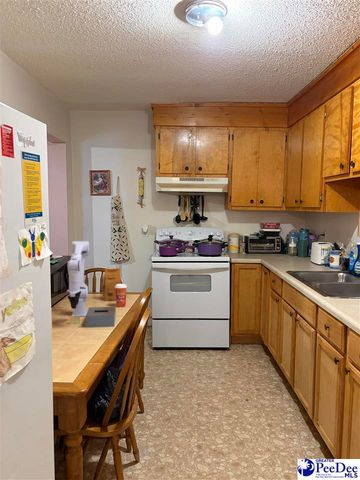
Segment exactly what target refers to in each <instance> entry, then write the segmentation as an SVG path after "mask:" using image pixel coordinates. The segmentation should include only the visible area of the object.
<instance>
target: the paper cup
mask: <svg viewBox="0 0 360 480" xmlns="http://www.w3.org/2000/svg"><path fill="white" fill-rule="evenodd" d="M115 288H116V307H117V308H125V307H126V304H127V288H128V286H127V284H125V283H121V284H117V285H116V286H115Z"/></svg>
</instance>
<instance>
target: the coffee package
mask: <svg viewBox="0 0 360 480" xmlns="http://www.w3.org/2000/svg"><path fill="white" fill-rule="evenodd" d="M121 279H122V278H121V267H115V268H104V275H103V281H102V282H103V284H102V298H103V301H105V302H108V301H112V302H115V301H116V288H115V286H116V285H117V284H122V283H121V282H122V281H121Z"/></svg>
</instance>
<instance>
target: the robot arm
mask: <svg viewBox="0 0 360 480" xmlns="http://www.w3.org/2000/svg"><path fill="white" fill-rule="evenodd" d="M71 251H72V254H71V255H70V256H71V257H70V260H68V261H67V272H68V273H67V274H68V289H67V290H66V292H68V293H69V294H68V295H67V299H68V301H69V303H70V307H71V309H72V314H71V316H80V317H85V316H86V314H87V312H88V310H87V309H86V306H87V303H86V300H87V299H88V297H89V287H88V285H87V284H86V283H84V282H85V261H86V257H88V256H89V254H90V242H89V240H86V241H85V240H84V241H83V240H82V241H80V240H79V241H77V240H75V241H74V240H73V241H72V242H71Z"/></svg>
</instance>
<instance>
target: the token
mask: <svg viewBox="0 0 360 480" xmlns="http://www.w3.org/2000/svg"><path fill="white" fill-rule="evenodd" d="M77 324H78V325H80V324H81V316H72V315H70V316H69V325H77Z"/></svg>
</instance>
